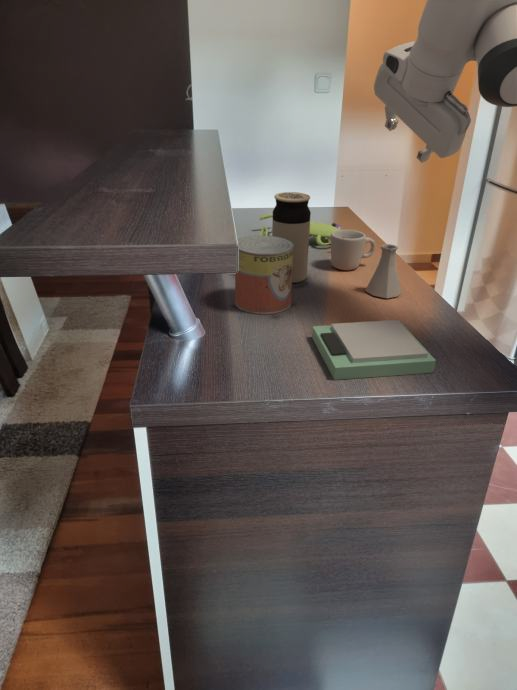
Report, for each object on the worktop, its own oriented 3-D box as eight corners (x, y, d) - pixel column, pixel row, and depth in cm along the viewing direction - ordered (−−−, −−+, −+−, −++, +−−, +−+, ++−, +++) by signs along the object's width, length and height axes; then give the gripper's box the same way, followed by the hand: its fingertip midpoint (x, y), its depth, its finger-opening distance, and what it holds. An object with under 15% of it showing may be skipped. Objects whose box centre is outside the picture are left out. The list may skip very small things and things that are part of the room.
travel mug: (284, 286, 110) (287, 201, 102) (264, 275, 116) (265, 194, 108) (313, 279, 114) (319, 197, 105) (292, 268, 120) (296, 190, 111)
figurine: (262, 227, 150) (262, 208, 148) (354, 234, 145) (356, 214, 143) (247, 246, 134) (247, 225, 132) (350, 254, 130) (352, 233, 127)
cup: (366, 260, 126) (370, 228, 122) (378, 271, 119) (382, 237, 115) (323, 262, 124) (326, 229, 120) (333, 273, 117) (336, 239, 114)
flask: (358, 291, 108) (364, 245, 103) (379, 283, 113) (385, 238, 108) (387, 302, 104) (394, 254, 99) (407, 293, 108) (415, 246, 103)
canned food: (265, 319, 96) (266, 258, 90) (223, 302, 102) (222, 244, 97) (302, 302, 103) (306, 244, 97) (261, 287, 110) (262, 232, 104)
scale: (398, 332, 92) (400, 317, 90) (433, 372, 80) (437, 356, 78) (311, 337, 90) (312, 322, 88) (334, 380, 78) (335, 363, 76)
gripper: (488, 107, 81) (455, 173, 93) (406, 36, 88) (385, 105, 101) (459, 121, 79) (428, 186, 92) (378, 47, 87) (360, 116, 99)
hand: (405, 143), depth 96 cm, fingers open, 8 cm apart
